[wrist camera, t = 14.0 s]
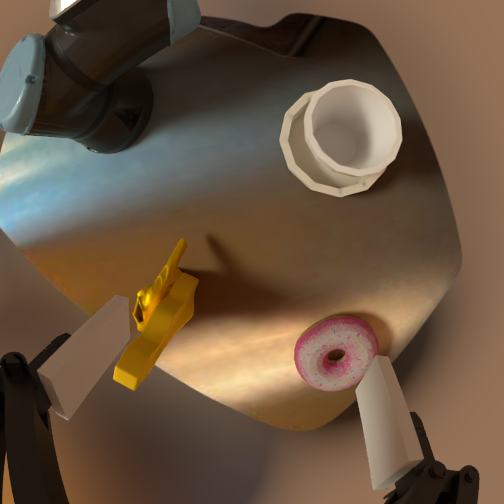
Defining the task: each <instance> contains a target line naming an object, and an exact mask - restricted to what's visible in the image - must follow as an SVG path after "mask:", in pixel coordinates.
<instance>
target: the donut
mask: <svg viewBox="0 0 504 504" xmlns="http://www.w3.org/2000/svg"><path fill="white" fill-rule="evenodd" d="M336 349H340V350H344V351H345V355H344V356H343V357H342V358H340V359H338V360H329V359H328V358H327V356H328V354H329V353H330V352H331V351H333V350H336ZM377 354H378V342H377V338H376V336H375V334H374V332H373V330H372V328H371V327H370V326H369V325H368V324H367V323H366V322H364V321H362V320H361V319H359V318H356V317H352V316H343V315H341V316H332V317H329V318H325V319H323V320H320V321H318V322H316V323H315V324H313V325H312V326H310V327H309V328H308V329H306V330H305V331H304V332H303V333H302V334H301V336H300V337H299V339H298V341H297V343H296V346H295V350H294V360H295V364H296V368H297V370H298V372H299V374H300V375H301V377H302V378H303V379H304V380H305V381H306V382H307V383H308V384H310V385H311V386H313V387H315V388H317V389H320V390H323V391H340V390H344V389H347V388H349V387H352V386H354V385H355V384H357V383H358V382H360V381H361V380H362V379H363V377H364V375H365V374H366V372H367V370H368V369H369V367H370V365H371V363H372V361H373V360H374V358H375V356H376V355H377Z"/></svg>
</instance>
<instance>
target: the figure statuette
mask: <svg viewBox="0 0 504 504" xmlns="http://www.w3.org/2000/svg"><path fill="white" fill-rule="evenodd" d="M186 248H187V243H186V241H185V240H184V239H182V238H180V240H179V242H178V244H177V246H176V247H175V249H174V251H173V253H172V254H171V256H170V258H169V260H168V262H167V265H165V267H164V268H163V269H162V271H161V273H160V274H159V276H158V277H157V279H156V281H155V283H154V284H153V285H150V286H148V287H146V288H144V289H142V290H141V291H139V292H138V293H137V294H138V295H137V303H136V305H135V309H134V312H133V316H134V318H135V320H136V322H137V329H138V330H139V331H141V332H142V333H141V334H140V336H139V337H138V338H136V339H135V340H133V341H132V342H131V343H130V344H129V346H128V347H127V348H126V350H125V351H124V353H123V355H122V356H121V358H120V360H119V361H118V363H117V365H116V367H115V372H114V377H113V379H114V380H116V381H117V382H119V383H121V384H123V385H124V386H126V387H128V388H130V389H132V390H134V391H135V390H136V389H137V387H138V386H139V385H140V383H141V382H142V381H143V380H144V379H145V378H146V377H147V376H148V374H149V372H150V371H151V369H152V367H153V366H154V364H155V362H156V361H157V359H158V358H159V356H160V354H161V353H162V351H163V350H164V348H165V347H166V346H167V344H168V343H169V342H170V341H171V339H172V338H173V337H174V335H175V334H176V333H177V332H178V331H179V330H180V329H181V328H182V327H183V326H184V325H185V324H186V323H187V322H188V321H189V320H190V319H191V318H192V316H193V313H194V294H195V290H196V287H197V285H198V283H199V279H197V278H195V277H193V276H191V275H189V274H187V273H183V272H182V271H181V270H180V269H178V268H176V267H177V265H178V263H179V261H180V259H181V257H182V255H183V254H184V252H185V250H186Z"/></svg>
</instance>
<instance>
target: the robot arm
mask: <svg viewBox="0 0 504 504" xmlns="http://www.w3.org/2000/svg"><path fill="white" fill-rule="evenodd" d="M49 17H50V18H51V19H52V20H53V21H54V22H56V23H57V24H56V25H55V26H54V27H53V28H52V29H51V30H50V31H49V32H48V33H47V34H46V35H45V36H42V35H41V34H38V33H37V34H30V35H28V36H25V37H24V38H22V39H21V40H20V41H19V42H18V43H17V44H16V46H15V47H14V48H13V50H12V51H11V53H10V54H9V56H8V58H7V59H6V61H5V64H4V66H3V68H2V70H1V73H0V128H1V129H2V130H4V131H6V132H11V133H18V134H20V135H21V136H25V135H33V136H48V137H60V138H70V139H74V140H75V141H77V142H78V143H81V144H82V145H83V146H84V147H85V148H86V149H88V150H90V151H92V152H96V153H103V154H111V153H116V152H119V151H121V150H123V149H125V148H127V147H128V146H129V145H131V144H132V143H133V142H134V141H135V140H136V139H137V138H138V137H139V135H140V134H141V133H142V131H143V130H144V128H145V126H146V125H147V123H148V120H149V118H150V115H151V111H152V106H153V92H152V88H151V85H150V83H149V81H148V80H147V78H146V77H145V76H144V75H142V74H141V73H139V72H138V71H136V70H134V69H133V68H135V67H136V66H138V65H139V64H141V63H142V62H144V61H145V60H147V59H148V58H150V57H151V56H153V55H154V54H156V53H157V52H159V51H160V50H162V49H164V48H165V47H167V46H169V47H170V46H172V45H173V44H174V42H175V41H177V40H178V39H180V38H182V37H183V36H185V35H187V34H188V33H190V32H192V31H193V30H194V29H196V28H197V27H198V25H199V23H200V21H201V13H200V9H199V5H198V3H197V0H51V3H50V13H49ZM129 339H130V330H129V306H128V298H126V297H123V296H120V295H117V294H116V295H115V296H114V297H113V298H111V299H110V300H109V301H108V302H107V303H106V304H105V305H104V306H103V307H102V308H101V309H99V310H98V311H97V312H96V313H95V314H94V315H93V316H92V317H91V318H90V319H89V320H88V321H87V322H86V323H84V324H83V325H82V326H81V327H80V328H79V329H78V330H77V331H76V332H75V333H74V334H73V335H70V334H68V333H65V334H62V335H60V336H58V337H56V338H55V339H54V340H53V341H52V342H51V344H49V345H48V346H47V347H46V348H45V349H44V350H43V351H42V352H41V353H40V354H38V355H37V356H36V357H35V358H34V359H33V360H32V361H31V362H30V363H29V364H27V361H26V358H25V357H24V356H23V355H22V354H21V353H19V352H10V353H7V354H5V355H4V356H3V357H2V358H1V360H0V366H1V367H0V504H2V489H3V474H4V464H5V455H6V452H7V461H8V469H9V476H10V481H11V487H12V493H13V498H14V502H15V504H69V501H68V498H67V495H66V492H65V489H64V485H63V481H62V478H61V474H60V470H59V465H58V461H57V456H56V452H55V446H54V441H53V435H52V429H51V422H50V415H49V411H48V409H49V408H50V406H51V405H52V407H53V409H54V411H55V413H57V414H58V415H60V416H61V417H63V418H65V419H67V420H69V419H70V418H71V416H72V415H73V413H74V412H75V411H76V409H77V408H78V407H79V405H80V404H81V402H82V401H83V400H84V398H85V397H86V396H87V394H88V393H89V392H90V390H91V389H92V388H93V386H94V385H95V383H96V382H97V381H98V380H99V378H100V377H101V375H102V374H103V373H104V371H105V370H106V369H107V368H108V366H109V365H110V364H111V362H112V361H113V360H114V358H115V357H116V356H117V355H118V353H119V352H120V351H121V350H122V348H123V347H124V346H125V345H126V343H127V342H128V341H129ZM355 391H356V395H357V400H358V405H359V409H360V415H361V420H362V425H363V431H364V436H365V441H366V448H367V454H368V460H369V466H370V472H371V480H372V487H373V490H379V489H388V488H389V487H390V486H391V485H393V484H394V483H395V486H396V489H394V490H393V491H392V492H390V493H389V494H388V495H386V496H385V497H384V498H383V499H385V498H387V497H388V499H387V500H386V502H385V503H384V504H477V501H478V490H479V473H478V471H477V469H476V468H475V467H473V466H471V465H467V466H465V467H463V468H462V469H461V470H460V471H453V470H447V469H446V467H445V465H444V464H442V463H441V462H439V461H435V459H434V456H433V453H432V450H431V447H430V444H429V441H428V438H427V436H426V432H425V430H424V426H423V423H422V421H421V419H420V417H419V416H418V415H417V414H416V413H415V412H409V410H408V407H407V405H406V402H405V399H404V396H403V393H402V391H401V388H400V386H399V383H398V380H397V378H396V375H395V373H394V370H393V367H392V365H391V362H390V360H389V358H388V356H380V355H376V356H375V358H374V360H373V361H372V363H371V365H370V367H369V369H368V370H367V372H366V374H365V375H364V377H363V379H362V381H361V382H360V384H359V386H358V387H357V389H356V390H355Z"/></svg>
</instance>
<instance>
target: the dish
mask: <svg viewBox="0 0 504 504" xmlns="http://www.w3.org/2000/svg"><path fill="white" fill-rule="evenodd" d="M317 91H319V90H317ZM317 91H313V92H309V93H305V94H304V95H303V96H302V97H301V98H300V99H299V100H298V101H297V102H296V103H295V104H294V105H293V106H292V107H291V108H290V109H289V110H288V111H287V112H286V113H285V117H284V121H283V126H282V130H281V135H280V140H279V141H280V145H281V148H282V151H283V154H284V157H285V160H286V163H287V166H288V169H289V171H290V172H291V173H292V174H294V175H295V176H296V177H297V178H298V179H299V180H300V181H301V182H302V183H303V184H304V185H305V186H307V187H308V188H309V189H310V190H314V191H318V192H322V193H326V194H330V195H334V196H337V197H343V196H346V195H350V194H354V193H357V192H361V191H365V190H368V189H369V188H370V186H371V185H372V184H373V183H374V182H375V181H376V180H377V179H378V178H379V177H380V176H381V174H382V173H383V172H384V171H385V170H386V167H387V166H386V167H385V168H384V169H383V170H381V171H380V172H378V173H373V174H368V175H363V176H358V177H351V176H347V175H343V174H339V173H335V172H332V171H331V170H330V169H328V168H327V167H326V166H324V165H323V164H322V163H321V162H319V161H318V160H317V159H315V157H314V155H313V153H312V151H311V150H310V148H309V146H308V144H307V142H306V141H305V132H304V115H305V112H306V110H307V108H308V105H309V103H310V101H311V99H312V96H313V94H315V93H316V92H317Z"/></svg>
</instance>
